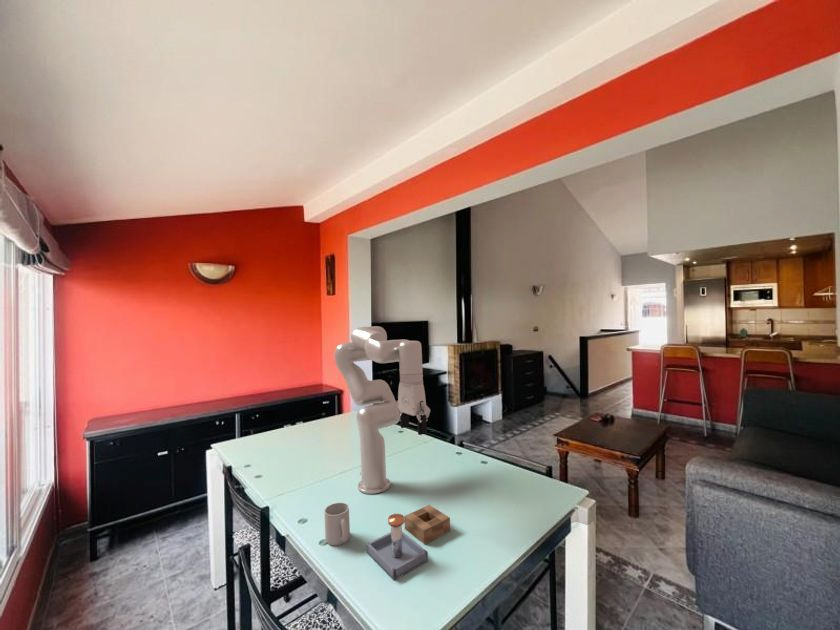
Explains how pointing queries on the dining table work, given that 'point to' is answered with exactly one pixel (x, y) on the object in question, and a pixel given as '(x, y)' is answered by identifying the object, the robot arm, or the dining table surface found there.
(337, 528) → the cup
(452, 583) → the dining table surface
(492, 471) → the dining table surface
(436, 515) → the hitch block
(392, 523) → the pin
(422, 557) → the tray
